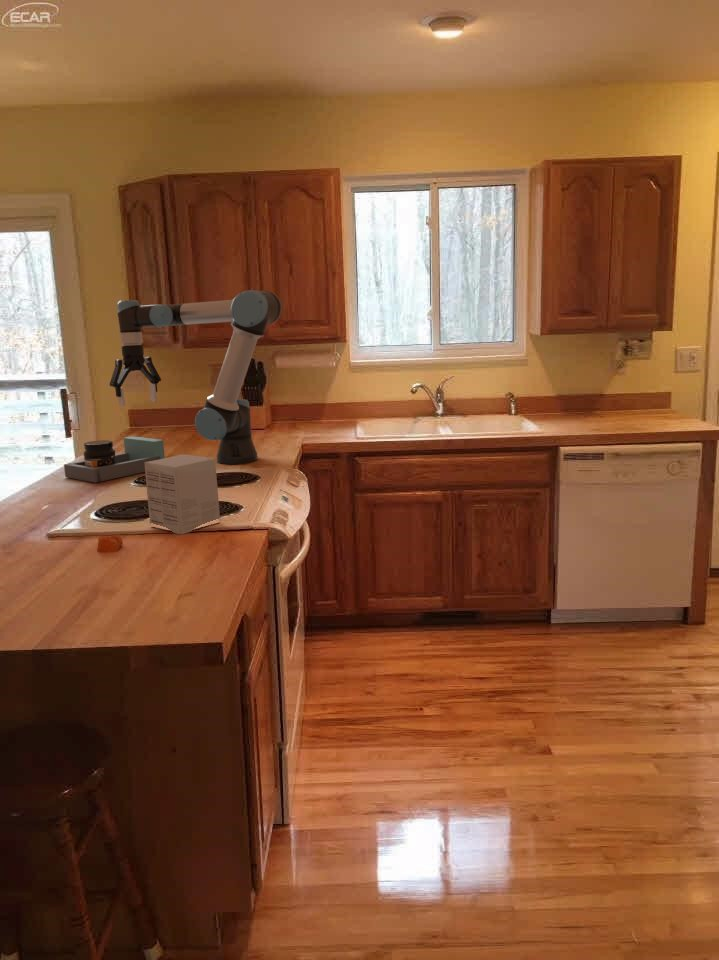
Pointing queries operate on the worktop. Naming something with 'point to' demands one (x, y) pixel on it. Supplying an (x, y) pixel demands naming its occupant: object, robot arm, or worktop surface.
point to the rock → (109, 543)
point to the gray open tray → (120, 461)
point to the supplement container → (99, 453)
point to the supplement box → (182, 492)
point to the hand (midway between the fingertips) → (138, 403)
